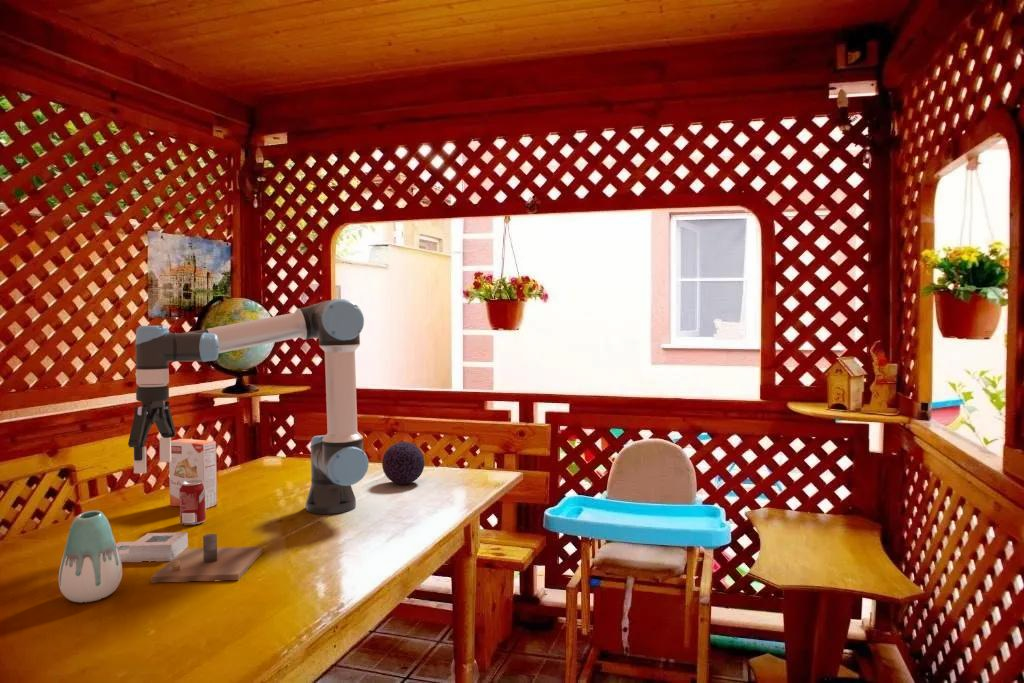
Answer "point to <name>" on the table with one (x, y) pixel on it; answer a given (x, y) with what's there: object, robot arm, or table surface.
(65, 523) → the table surface
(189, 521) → the soda can
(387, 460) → the toy ball
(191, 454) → the cracker box
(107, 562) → the vase
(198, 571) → the post base
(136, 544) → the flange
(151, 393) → the robot arm
